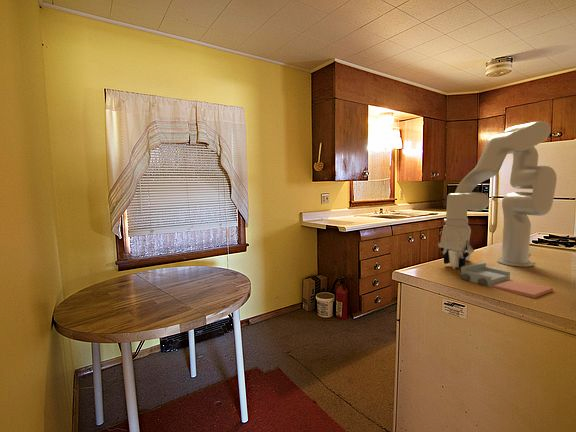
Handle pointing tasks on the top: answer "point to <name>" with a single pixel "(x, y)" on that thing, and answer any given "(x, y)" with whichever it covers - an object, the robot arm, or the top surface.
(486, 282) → the flatbed
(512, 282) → the plate
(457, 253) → the cup
